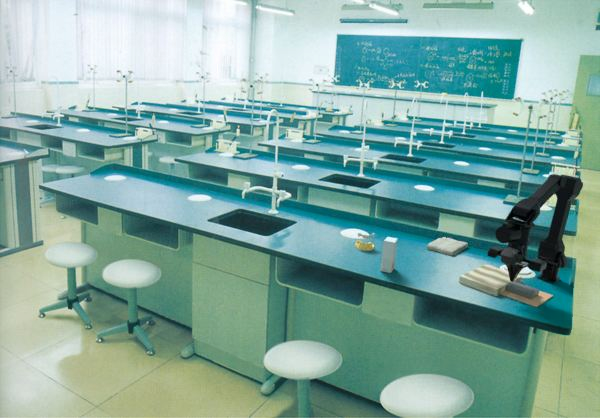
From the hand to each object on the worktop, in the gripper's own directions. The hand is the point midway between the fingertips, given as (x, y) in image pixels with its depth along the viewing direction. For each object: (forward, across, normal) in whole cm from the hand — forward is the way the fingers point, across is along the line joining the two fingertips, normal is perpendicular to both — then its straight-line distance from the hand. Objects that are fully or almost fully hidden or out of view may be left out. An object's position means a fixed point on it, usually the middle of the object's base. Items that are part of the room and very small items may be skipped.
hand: (511, 281), depth 175 cm
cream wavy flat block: (+3, -8, 0) cm, 8 cm away
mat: (+3, +6, 0) cm, 7 cm away
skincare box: (+3, -37, -22) cm, 44 cm away
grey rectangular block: (+3, +4, 0) cm, 5 cm away
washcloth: (+4, -38, +21) cm, 43 cm away
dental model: (+4, -58, -10) cm, 59 cm away
